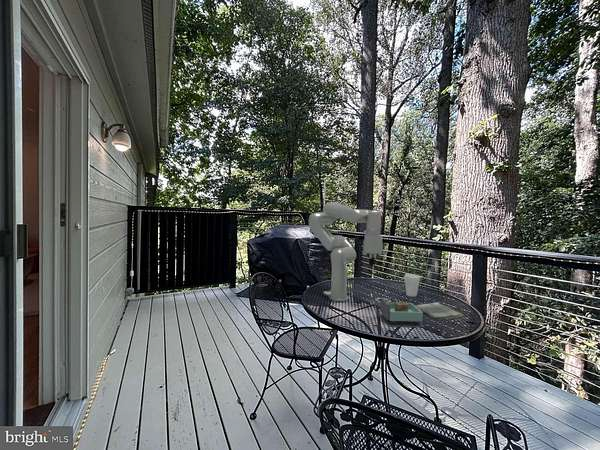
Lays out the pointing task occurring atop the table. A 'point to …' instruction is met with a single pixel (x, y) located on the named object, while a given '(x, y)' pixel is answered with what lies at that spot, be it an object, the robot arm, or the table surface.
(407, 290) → the foam cup
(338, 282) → the robot arm
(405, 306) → the walnut block
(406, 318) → the mint green cubby
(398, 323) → the dock mat
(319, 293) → the table surface
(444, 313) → the dish towel
